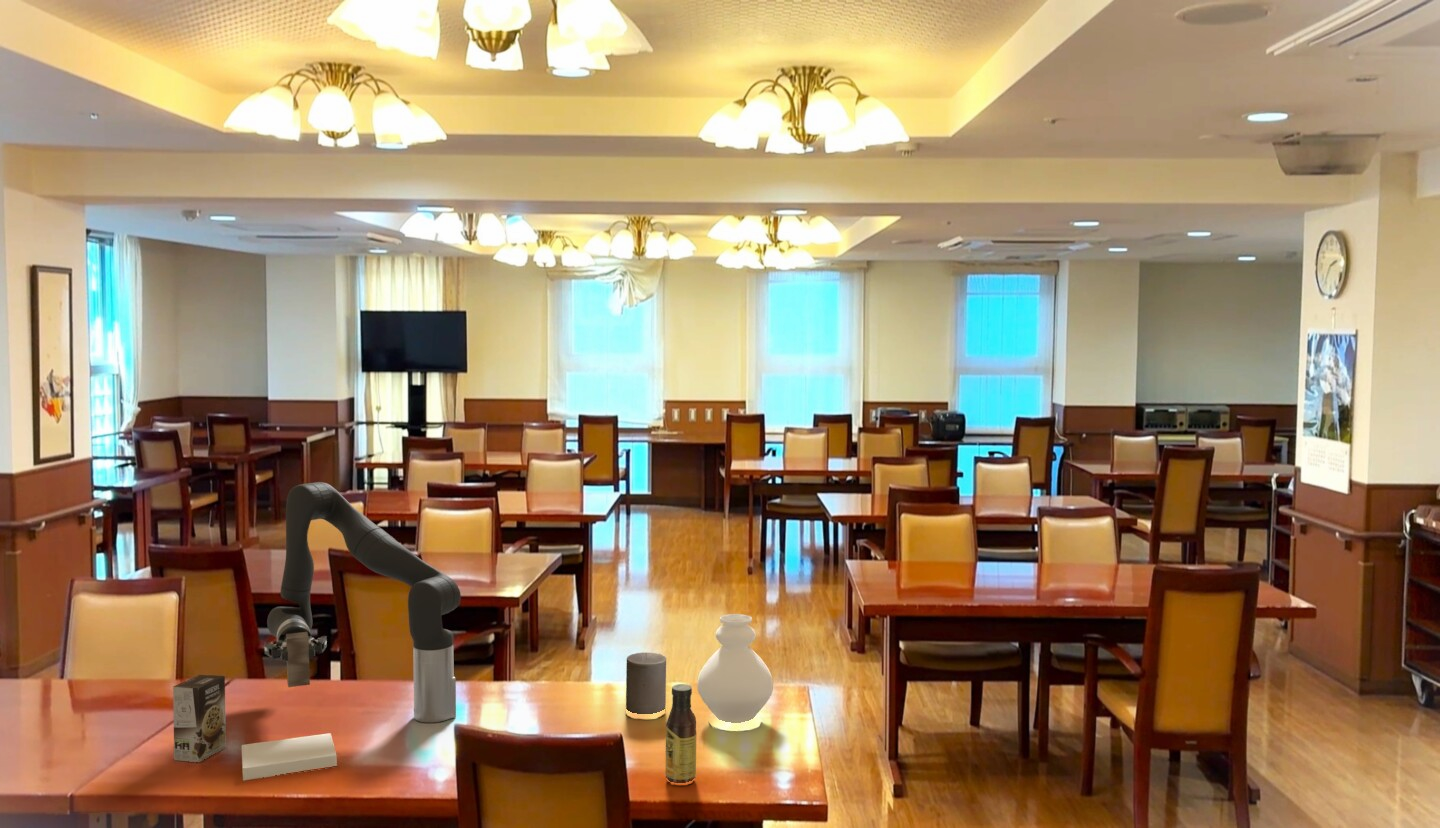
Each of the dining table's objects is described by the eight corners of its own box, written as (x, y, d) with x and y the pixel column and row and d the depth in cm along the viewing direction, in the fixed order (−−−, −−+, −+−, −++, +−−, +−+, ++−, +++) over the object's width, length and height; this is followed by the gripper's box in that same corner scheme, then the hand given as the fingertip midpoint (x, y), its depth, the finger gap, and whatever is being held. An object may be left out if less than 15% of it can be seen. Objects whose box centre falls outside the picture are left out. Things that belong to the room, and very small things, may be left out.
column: (308, 679, 248) (307, 631, 248) (309, 684, 244) (308, 636, 244) (287, 681, 247) (285, 634, 246) (288, 687, 243) (286, 638, 242)
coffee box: (199, 763, 228) (198, 688, 227) (173, 760, 230) (171, 686, 229) (227, 747, 237) (226, 675, 236) (201, 745, 239) (200, 673, 238)
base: (330, 744, 240) (330, 733, 240) (336, 766, 227) (336, 755, 227) (241, 756, 232) (241, 745, 232) (242, 780, 220) (242, 768, 219)
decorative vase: (767, 738, 245) (768, 629, 244) (690, 733, 248) (691, 625, 247) (776, 712, 263) (778, 610, 261) (704, 707, 266) (705, 607, 264)
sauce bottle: (664, 775, 224) (665, 681, 222) (695, 775, 224) (695, 680, 223) (665, 788, 217) (666, 691, 216) (697, 788, 218) (697, 690, 216)
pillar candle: (617, 715, 260) (618, 654, 258) (641, 704, 268) (642, 644, 267) (650, 723, 254) (651, 661, 253) (674, 711, 263) (674, 651, 262)
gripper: (261, 624, 255) (263, 642, 239) (325, 618, 261) (331, 635, 245) (261, 656, 255) (264, 676, 240) (326, 649, 261) (332, 668, 246)
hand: (298, 655), depth 243 cm, fingers closed on column, 4 cm apart
